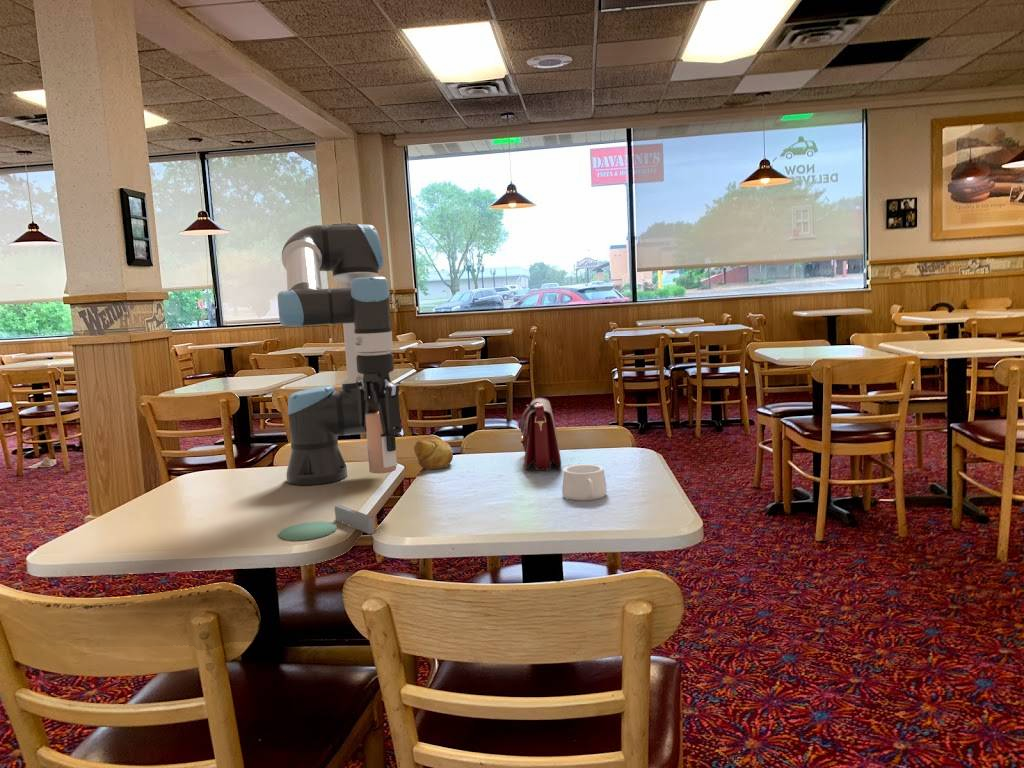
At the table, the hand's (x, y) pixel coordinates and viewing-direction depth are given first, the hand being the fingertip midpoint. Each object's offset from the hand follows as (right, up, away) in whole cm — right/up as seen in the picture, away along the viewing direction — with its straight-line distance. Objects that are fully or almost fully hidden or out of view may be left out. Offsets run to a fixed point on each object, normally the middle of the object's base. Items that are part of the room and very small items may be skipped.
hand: (382, 463), depth 158 cm
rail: (-4, -12, -7) cm, 14 cm away
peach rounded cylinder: (0, -1, 0) cm, 1 cm away
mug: (+43, -8, +6) cm, 44 cm away
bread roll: (+7, -5, +45) cm, 46 cm away
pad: (-13, -12, -9) cm, 20 cm away
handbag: (+35, -4, +43) cm, 55 cm away
